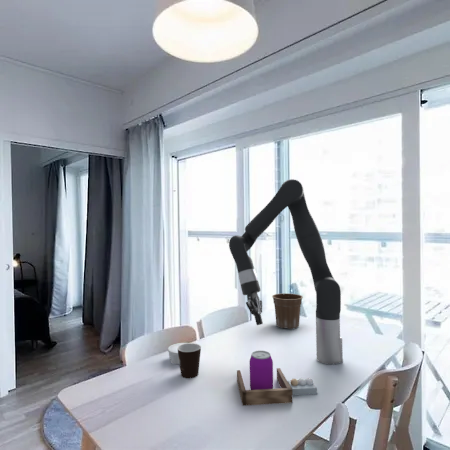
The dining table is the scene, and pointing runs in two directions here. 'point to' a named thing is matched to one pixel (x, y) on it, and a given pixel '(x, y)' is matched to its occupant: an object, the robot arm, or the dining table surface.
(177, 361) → the ramekin
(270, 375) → the beverage can
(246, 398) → the walnut U-seat
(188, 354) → the coffee mug
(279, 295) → the plant pot
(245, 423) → the dining table surface
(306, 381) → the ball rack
